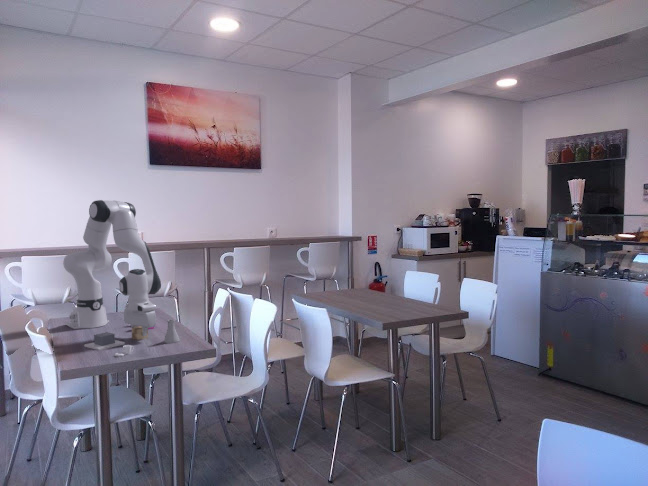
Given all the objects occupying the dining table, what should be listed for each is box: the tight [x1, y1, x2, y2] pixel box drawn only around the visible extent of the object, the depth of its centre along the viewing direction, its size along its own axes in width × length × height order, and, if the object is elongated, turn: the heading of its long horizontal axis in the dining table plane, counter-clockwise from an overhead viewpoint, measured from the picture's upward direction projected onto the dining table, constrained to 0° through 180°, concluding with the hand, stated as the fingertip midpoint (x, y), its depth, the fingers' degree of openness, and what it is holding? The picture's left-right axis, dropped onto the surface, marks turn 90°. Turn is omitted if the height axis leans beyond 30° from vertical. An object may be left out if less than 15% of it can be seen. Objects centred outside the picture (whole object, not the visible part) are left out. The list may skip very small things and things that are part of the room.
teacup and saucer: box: [114, 344, 135, 358], centre depth 210 cm, size 9×8×4 cm
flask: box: [163, 319, 181, 344], centre depth 229 cm, size 7×7×10 cm
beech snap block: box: [131, 326, 149, 341], centre depth 237 cm, size 5×5×5 cm
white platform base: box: [83, 331, 126, 351], centre depth 225 cm, size 12×12×5 cm
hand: (139, 335), depth 237 cm, fingers closed on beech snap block, 5 cm apart
